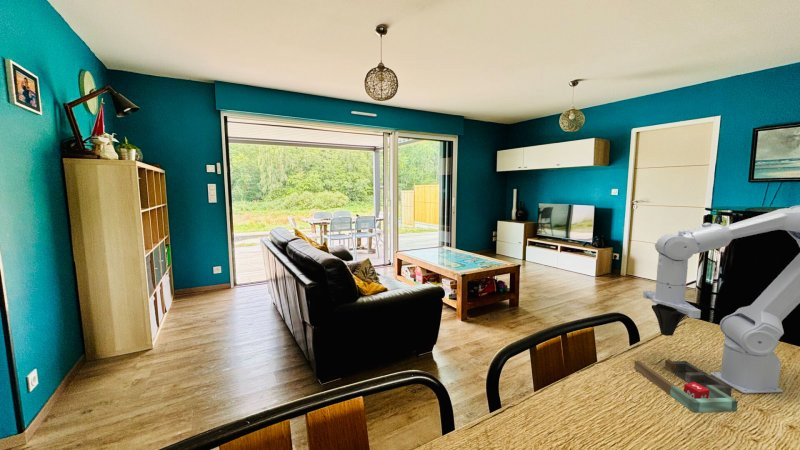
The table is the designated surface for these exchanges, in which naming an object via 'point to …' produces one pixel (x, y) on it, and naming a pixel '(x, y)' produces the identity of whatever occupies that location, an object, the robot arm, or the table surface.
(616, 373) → the table surface
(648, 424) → the table surface
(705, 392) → the red letter block
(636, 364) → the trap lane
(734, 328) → the robot arm
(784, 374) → the table surface
